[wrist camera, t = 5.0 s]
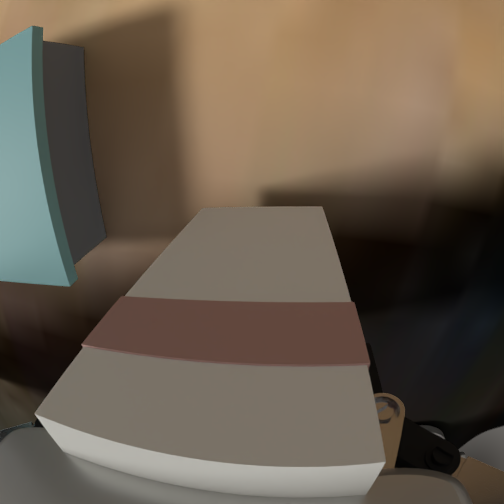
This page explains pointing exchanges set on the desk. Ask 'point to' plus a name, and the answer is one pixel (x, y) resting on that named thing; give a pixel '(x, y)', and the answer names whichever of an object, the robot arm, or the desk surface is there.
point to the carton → (230, 366)
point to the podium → (45, 162)
